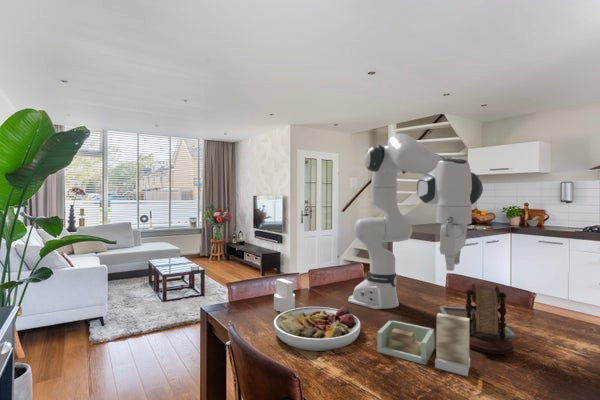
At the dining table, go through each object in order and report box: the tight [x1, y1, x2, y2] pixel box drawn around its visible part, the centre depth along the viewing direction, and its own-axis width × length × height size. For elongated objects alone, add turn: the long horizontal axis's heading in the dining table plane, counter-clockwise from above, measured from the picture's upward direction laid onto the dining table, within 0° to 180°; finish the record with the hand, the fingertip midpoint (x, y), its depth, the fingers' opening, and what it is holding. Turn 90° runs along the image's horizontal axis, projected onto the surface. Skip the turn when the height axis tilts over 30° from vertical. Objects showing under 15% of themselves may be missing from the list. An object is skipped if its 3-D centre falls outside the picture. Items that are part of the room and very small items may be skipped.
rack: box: [376, 319, 435, 366], centre depth 100 cm, size 14×12×7 cm
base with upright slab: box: [273, 278, 296, 313], centre depth 140 cm, size 9×9×12 cm
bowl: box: [273, 306, 361, 352], centre depth 114 cm, size 30×30×8 cm
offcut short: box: [391, 328, 414, 344], centre depth 100 cm, size 6×3×2 cm, turn 57°
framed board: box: [439, 305, 518, 340], centre depth 127 cm, size 19×2×30 cm
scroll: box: [465, 283, 514, 358], centre depth 104 cm, size 15×15×20 cm
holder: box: [434, 356, 471, 377], centre depth 90 cm, size 8×6×3 cm
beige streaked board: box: [435, 312, 470, 374], centre depth 90 cm, size 8×2×14 cm, turn 58°
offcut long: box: [390, 338, 421, 356], centre depth 99 cm, size 9×3×3 cm, turn 57°
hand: (453, 266), depth 90 cm, fingers open, 8 cm apart
